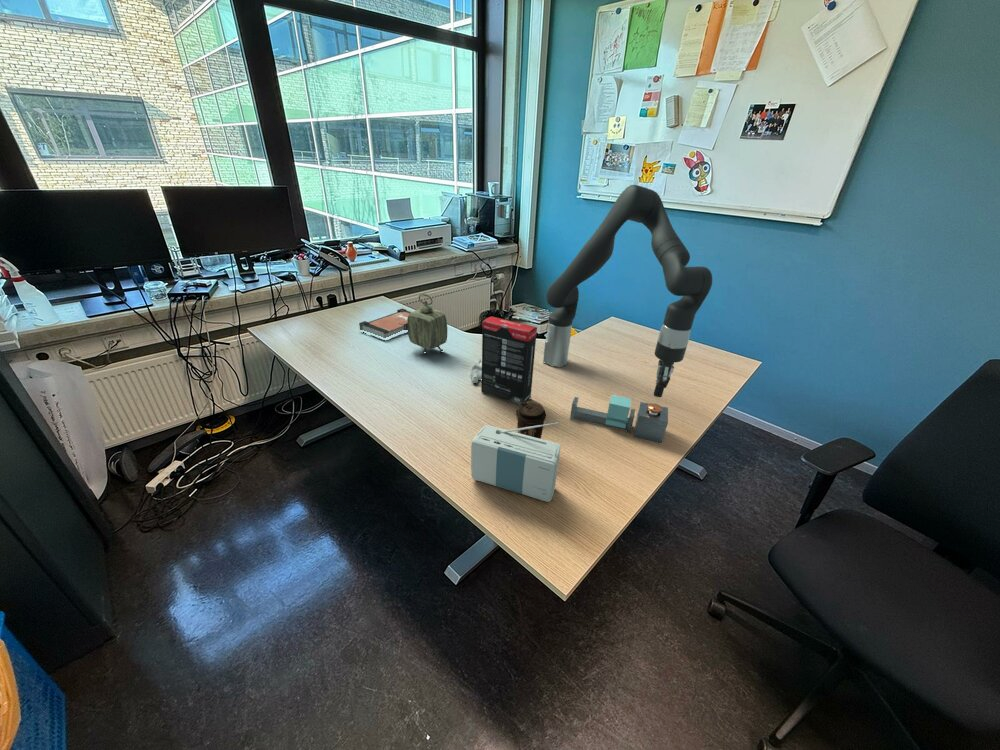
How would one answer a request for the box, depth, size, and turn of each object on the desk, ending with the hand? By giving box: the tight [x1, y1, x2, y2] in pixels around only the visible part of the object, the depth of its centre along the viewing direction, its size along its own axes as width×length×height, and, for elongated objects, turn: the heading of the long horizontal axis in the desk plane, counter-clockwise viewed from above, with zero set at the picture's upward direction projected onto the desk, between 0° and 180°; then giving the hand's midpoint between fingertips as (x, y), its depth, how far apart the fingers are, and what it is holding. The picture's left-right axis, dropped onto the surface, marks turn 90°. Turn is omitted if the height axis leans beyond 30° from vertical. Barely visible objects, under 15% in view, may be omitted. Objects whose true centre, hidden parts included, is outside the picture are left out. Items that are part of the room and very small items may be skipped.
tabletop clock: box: [407, 293, 448, 353], centre depth 160 cm, size 14×9×25 cm, turn 58°
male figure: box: [470, 356, 482, 384], centre depth 152 cm, size 11×10×25 cm
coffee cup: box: [515, 401, 547, 439], centre depth 111 cm, size 9×8×13 cm
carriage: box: [605, 394, 632, 428], centre depth 122 cm, size 6×5×8 cm
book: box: [359, 308, 412, 338], centre depth 187 cm, size 26×18×5 cm
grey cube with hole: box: [633, 401, 669, 444], centre depth 119 cm, size 8×8×8 cm
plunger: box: [647, 402, 663, 415], centre depth 118 cm, size 4×4×7 cm
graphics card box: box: [480, 316, 538, 406], centre depth 131 cm, size 17×7×27 cm, turn 61°
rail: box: [569, 396, 636, 434], centre depth 124 cm, size 19×4×6 cm, turn 70°
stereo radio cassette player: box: [470, 421, 561, 503], centre depth 96 cm, size 21×8×20 cm, turn 69°
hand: (657, 395), depth 115 cm, fingers closed
